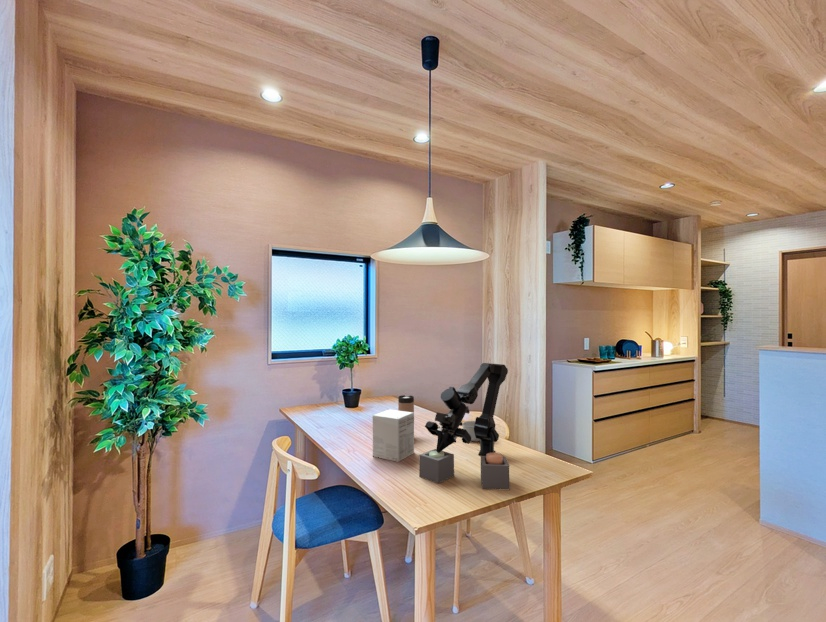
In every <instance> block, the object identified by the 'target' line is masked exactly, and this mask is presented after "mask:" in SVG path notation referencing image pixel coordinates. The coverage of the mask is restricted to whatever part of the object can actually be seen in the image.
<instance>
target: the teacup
mask: <svg viewBox="0 0 826 622" xmlns="http://www.w3.org/2000/svg"><path fill="white" fill-rule="evenodd" d="M475 421H476V419H475V420H468V421H467V420H466V421H465V422H464V421H463V422H462V426H461V427H462V429H466V430H467V432H468V433H469V434H470V436H471V441H470V442H480V439H478V438H476V437H475V432H474V424H475Z"/></svg>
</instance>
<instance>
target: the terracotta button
mask: <svg viewBox="0 0 826 622" xmlns="http://www.w3.org/2000/svg"><path fill="white" fill-rule="evenodd" d="M503 457H504V455H503V454H501V453H499V452H495V453H488V454H486V464H502V465H503Z"/></svg>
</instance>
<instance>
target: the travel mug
mask: <svg viewBox="0 0 826 622" xmlns="http://www.w3.org/2000/svg"><path fill="white" fill-rule="evenodd" d="M397 404H398V409H397V410H398V411H406V412H414V413H415V398H414V396H413V395H408V396H406V395H405V394H404V395H403V394H402V395H399V396H398V403H397Z"/></svg>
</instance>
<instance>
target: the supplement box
mask: <svg viewBox="0 0 826 622" xmlns="http://www.w3.org/2000/svg"><path fill="white" fill-rule="evenodd" d="M414 453H415V411H414V412H406V411H398V409H386V410H383V411H381V412H378V413H375V414H372V457H373V456H374V458H378V457H379V458H378V459H383V460H388V461H393V462H397V463H398V462H401V461H402V460H404V459H406V458H408V457H409V456H411V455H413V454H414Z"/></svg>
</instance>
